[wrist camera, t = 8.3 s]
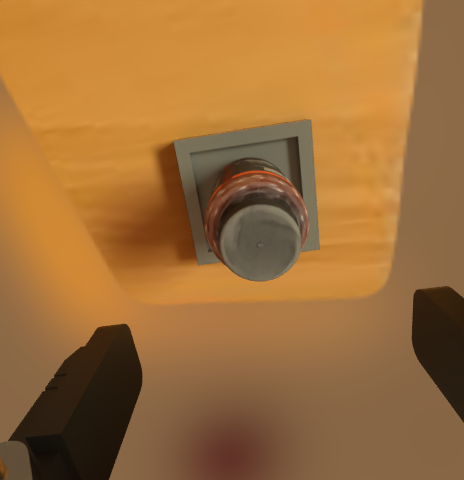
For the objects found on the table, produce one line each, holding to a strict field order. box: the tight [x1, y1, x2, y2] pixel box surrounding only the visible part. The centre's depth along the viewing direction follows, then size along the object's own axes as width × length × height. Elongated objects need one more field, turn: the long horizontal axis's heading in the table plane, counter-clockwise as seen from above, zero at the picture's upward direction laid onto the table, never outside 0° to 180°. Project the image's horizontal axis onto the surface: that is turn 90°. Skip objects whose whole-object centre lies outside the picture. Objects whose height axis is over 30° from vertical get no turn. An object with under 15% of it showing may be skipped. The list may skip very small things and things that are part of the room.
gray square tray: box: [174, 119, 320, 265], centre depth 27 cm, size 10×10×2 cm
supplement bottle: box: [204, 157, 309, 281], centre depth 21 cm, size 6×6×11 cm
